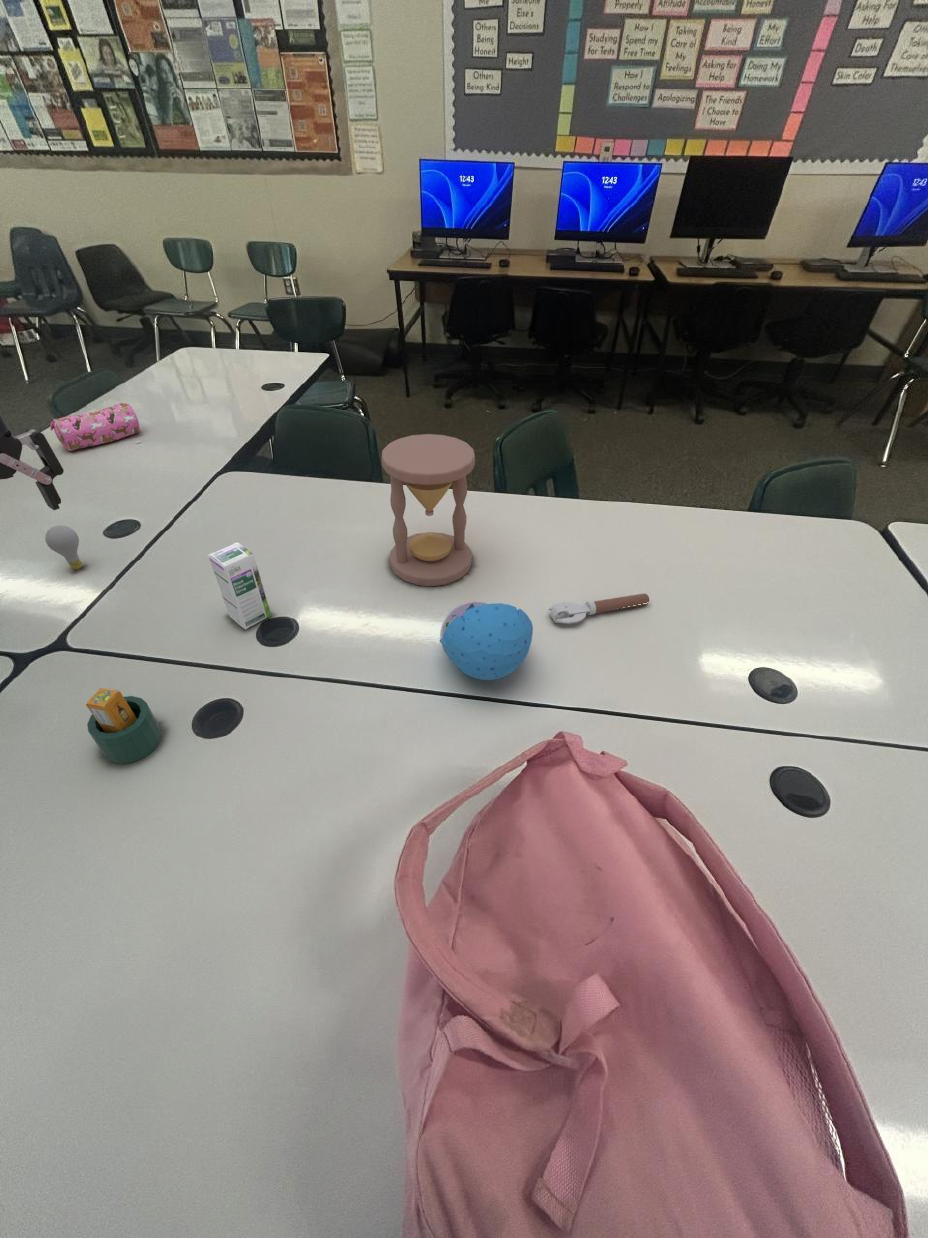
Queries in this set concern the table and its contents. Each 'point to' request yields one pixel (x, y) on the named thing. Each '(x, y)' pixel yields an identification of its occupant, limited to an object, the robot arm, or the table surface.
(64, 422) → the pencil case
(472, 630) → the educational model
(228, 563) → the syrup box
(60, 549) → the light bulb
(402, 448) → the hourglass
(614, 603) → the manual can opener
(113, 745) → the green pipe cap
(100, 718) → the supplement box
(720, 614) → the table surface
